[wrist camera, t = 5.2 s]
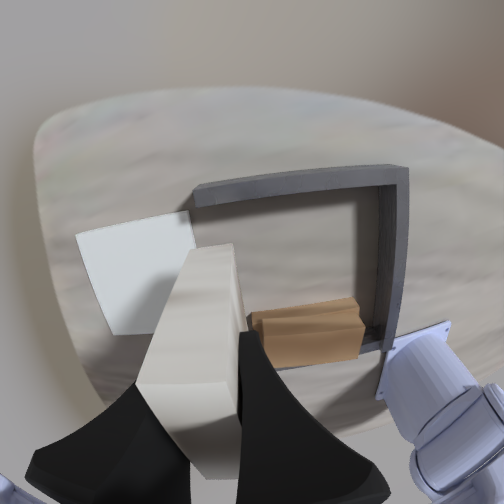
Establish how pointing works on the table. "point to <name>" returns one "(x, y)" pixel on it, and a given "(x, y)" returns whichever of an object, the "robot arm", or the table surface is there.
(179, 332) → the white upright pillar
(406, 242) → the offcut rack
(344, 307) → the lower oak offcut
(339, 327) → the upper oak offcut
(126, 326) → the white mat
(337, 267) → the table surface
